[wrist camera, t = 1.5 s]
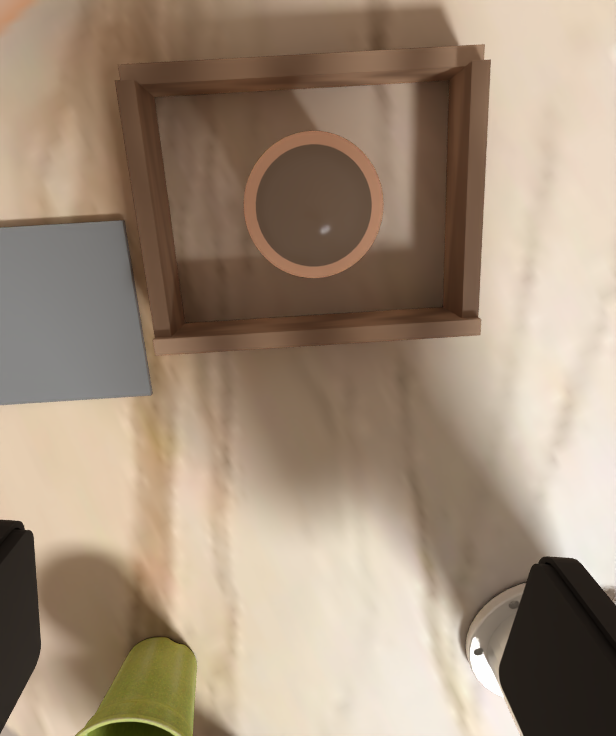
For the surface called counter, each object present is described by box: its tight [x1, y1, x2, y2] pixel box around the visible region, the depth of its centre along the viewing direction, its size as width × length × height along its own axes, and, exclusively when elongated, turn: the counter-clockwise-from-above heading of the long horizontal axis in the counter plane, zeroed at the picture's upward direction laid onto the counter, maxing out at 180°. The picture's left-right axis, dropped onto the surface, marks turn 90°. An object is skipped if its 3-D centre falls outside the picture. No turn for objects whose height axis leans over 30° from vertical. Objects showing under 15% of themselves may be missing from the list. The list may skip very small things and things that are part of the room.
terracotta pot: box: [244, 131, 383, 278], centre depth 28 cm, size 7×7×8 cm
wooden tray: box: [115, 44, 491, 356], centre depth 30 cm, size 20×16×4 cm
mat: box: [0, 220, 153, 405], centre depth 33 cm, size 12×12×1 cm
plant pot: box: [75, 637, 197, 736], centre depth 39 cm, size 9×9×9 cm
